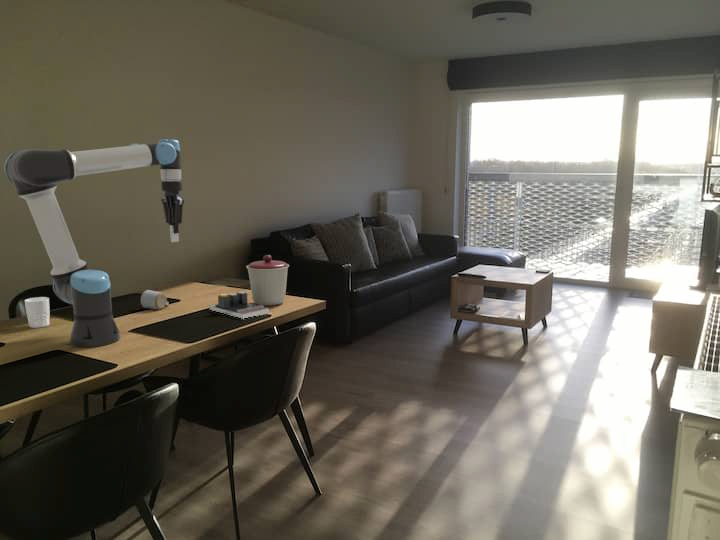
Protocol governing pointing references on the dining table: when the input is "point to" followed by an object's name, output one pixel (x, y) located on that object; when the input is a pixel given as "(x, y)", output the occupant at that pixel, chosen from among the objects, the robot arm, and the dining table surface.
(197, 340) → the dining table surface
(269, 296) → the canister
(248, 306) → the serrated grey base plate
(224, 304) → the toggle
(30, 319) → the white cup
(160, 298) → the ceramic mug
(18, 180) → the robot arm
